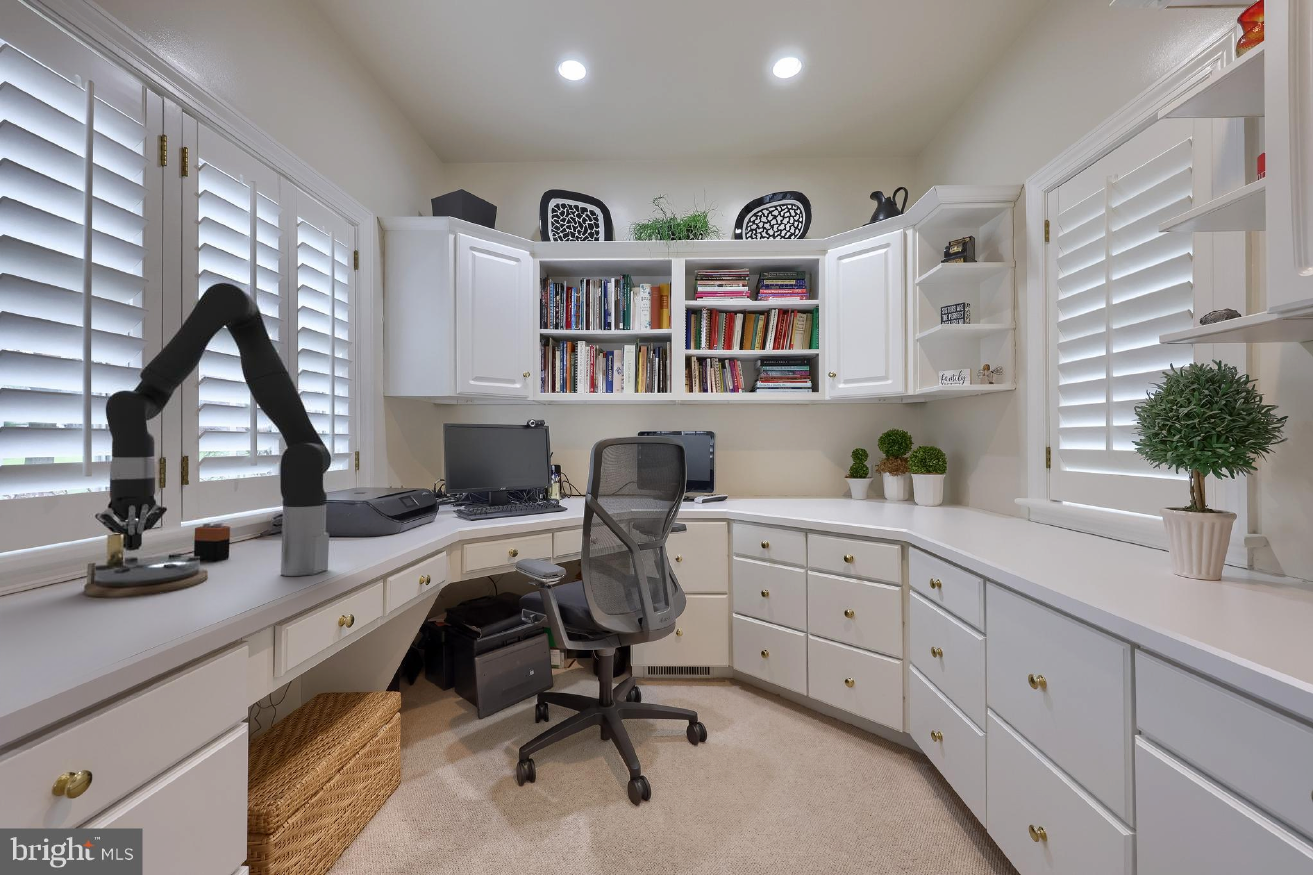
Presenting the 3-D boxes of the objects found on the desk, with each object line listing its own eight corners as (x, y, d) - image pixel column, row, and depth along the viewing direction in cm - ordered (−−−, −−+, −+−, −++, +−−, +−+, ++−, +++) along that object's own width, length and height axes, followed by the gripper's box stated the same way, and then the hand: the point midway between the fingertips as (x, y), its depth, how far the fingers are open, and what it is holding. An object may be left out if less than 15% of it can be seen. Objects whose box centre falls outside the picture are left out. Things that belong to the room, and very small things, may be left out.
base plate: (229, 574, 128) (229, 550, 128) (154, 598, 108) (155, 570, 108) (145, 573, 127) (146, 549, 127) (54, 597, 107) (55, 568, 107)
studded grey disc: (192, 564, 130) (194, 525, 130) (205, 577, 119) (207, 535, 119) (92, 576, 117) (94, 533, 117) (97, 592, 106) (98, 544, 106)
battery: (215, 562, 140) (216, 525, 140) (192, 560, 140) (193, 524, 140) (230, 558, 144) (231, 522, 144) (207, 557, 145) (209, 521, 145)
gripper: (154, 473, 128) (153, 543, 128) (84, 477, 115) (83, 554, 115) (177, 474, 126) (176, 545, 126) (108, 479, 113) (107, 557, 113)
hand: (132, 549), depth 121 cm, fingers closed
